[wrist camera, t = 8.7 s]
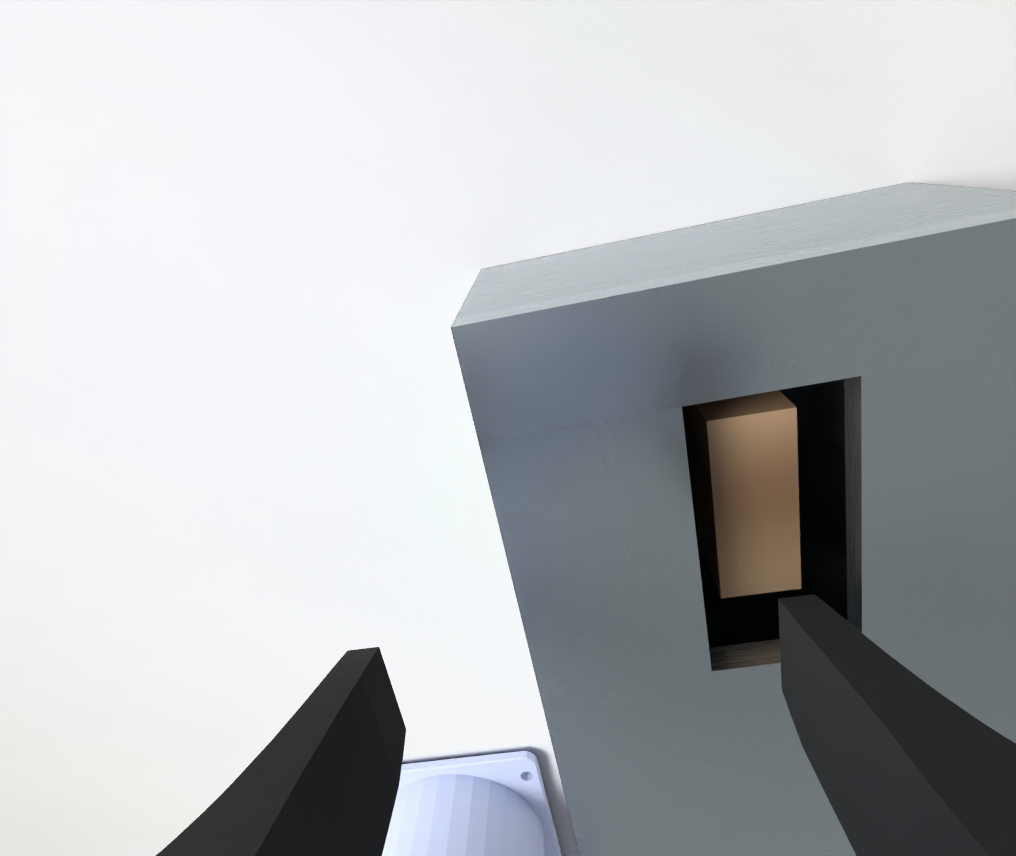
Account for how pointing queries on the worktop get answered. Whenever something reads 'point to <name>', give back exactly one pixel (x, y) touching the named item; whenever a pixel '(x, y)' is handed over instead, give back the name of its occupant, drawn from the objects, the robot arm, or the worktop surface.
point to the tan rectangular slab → (746, 491)
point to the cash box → (822, 492)
